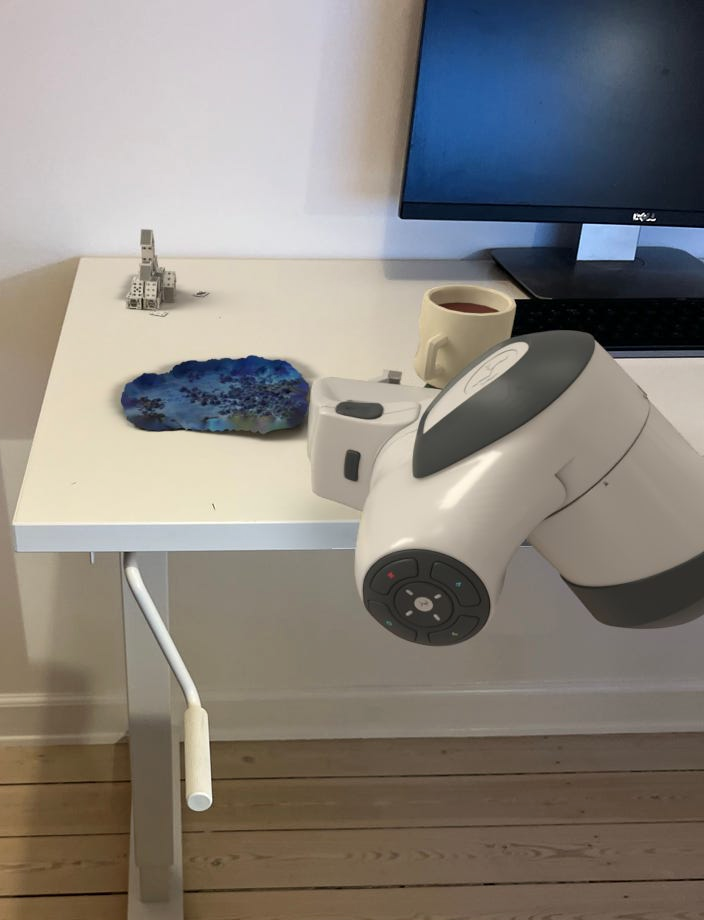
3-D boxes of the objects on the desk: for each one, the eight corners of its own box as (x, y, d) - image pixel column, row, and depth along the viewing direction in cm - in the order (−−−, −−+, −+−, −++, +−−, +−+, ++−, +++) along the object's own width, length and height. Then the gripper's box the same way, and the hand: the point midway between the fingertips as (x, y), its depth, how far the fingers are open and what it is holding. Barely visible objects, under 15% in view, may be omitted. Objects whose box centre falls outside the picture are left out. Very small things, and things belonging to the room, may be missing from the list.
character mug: (440, 419, 89) (464, 272, 81) (512, 443, 86) (544, 292, 78) (373, 461, 83) (391, 305, 75) (447, 489, 79) (475, 329, 71)
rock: (307, 439, 86) (308, 418, 85) (113, 431, 87) (111, 411, 86) (309, 375, 98) (311, 356, 97) (138, 369, 99) (137, 350, 98)
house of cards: (199, 318, 109) (199, 246, 105) (121, 314, 110) (118, 242, 105) (209, 291, 116) (210, 222, 112) (136, 287, 117) (134, 219, 112)
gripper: (618, 445, 62) (604, 361, 72) (295, 406, 65) (327, 332, 76) (593, 532, 66) (583, 440, 76) (289, 491, 69) (320, 409, 80)
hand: (453, 386), depth 76 cm, fingers open, 8 cm apart
